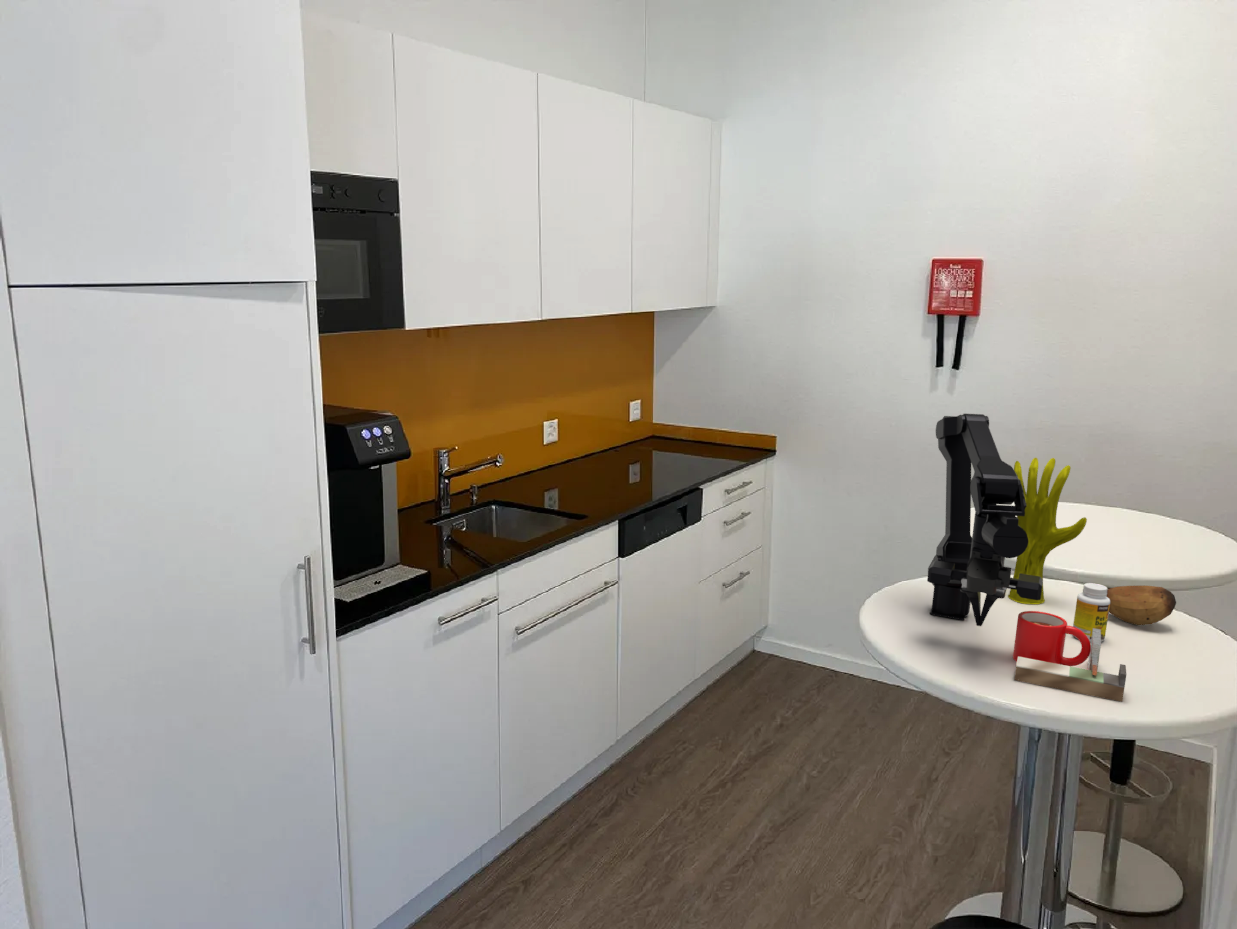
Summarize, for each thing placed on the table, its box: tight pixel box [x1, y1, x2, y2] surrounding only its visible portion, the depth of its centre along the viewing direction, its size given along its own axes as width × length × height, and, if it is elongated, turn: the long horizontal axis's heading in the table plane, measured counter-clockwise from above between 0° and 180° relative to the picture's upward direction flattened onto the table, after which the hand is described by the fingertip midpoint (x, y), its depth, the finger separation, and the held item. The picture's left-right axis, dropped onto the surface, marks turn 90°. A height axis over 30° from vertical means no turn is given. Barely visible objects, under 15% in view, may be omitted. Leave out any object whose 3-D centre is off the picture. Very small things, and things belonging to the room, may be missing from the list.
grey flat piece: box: [1087, 628, 1102, 675], centre depth 160 cm, size 1×14×6 cm, turn 154°
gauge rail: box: [1014, 656, 1127, 702], centre depth 156 cm, size 16×4×5 cm, turn 64°
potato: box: [1106, 585, 1177, 627], centre depth 187 cm, size 8×14×8 cm
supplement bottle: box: [1072, 582, 1110, 643], centre depth 178 cm, size 6×6×10 cm
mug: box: [1012, 610, 1091, 667], centre depth 165 cm, size 8×12×8 cm, turn 60°
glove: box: [1007, 457, 1088, 606], centre depth 196 cm, size 15×8×30 cm, turn 49°
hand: (979, 625), depth 170 cm, fingers closed
